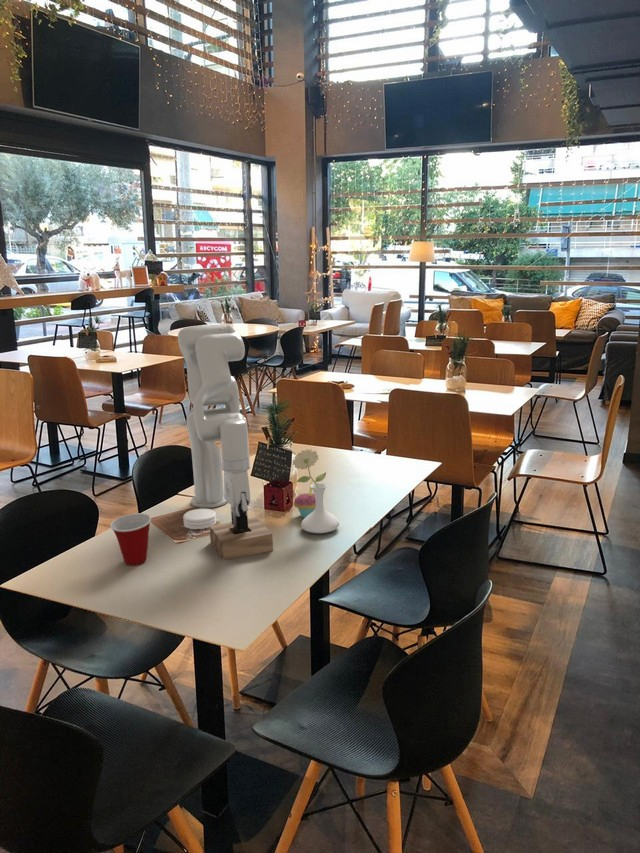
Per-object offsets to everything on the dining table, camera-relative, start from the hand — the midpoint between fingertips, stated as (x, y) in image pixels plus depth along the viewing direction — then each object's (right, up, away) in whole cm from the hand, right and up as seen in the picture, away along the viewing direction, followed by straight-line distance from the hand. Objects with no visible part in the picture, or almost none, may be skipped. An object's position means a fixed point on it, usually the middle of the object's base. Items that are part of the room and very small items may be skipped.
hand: (240, 525), depth 197 cm
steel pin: (0, -4, +1) cm, 4 cm away
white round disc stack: (-14, -3, +20) cm, 25 cm away
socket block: (0, -6, +1) cm, 6 cm away
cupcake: (+19, 0, +23) cm, 30 cm away
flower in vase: (+22, -3, +12) cm, 25 cm away
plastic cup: (-28, -9, -6) cm, 30 cm away
